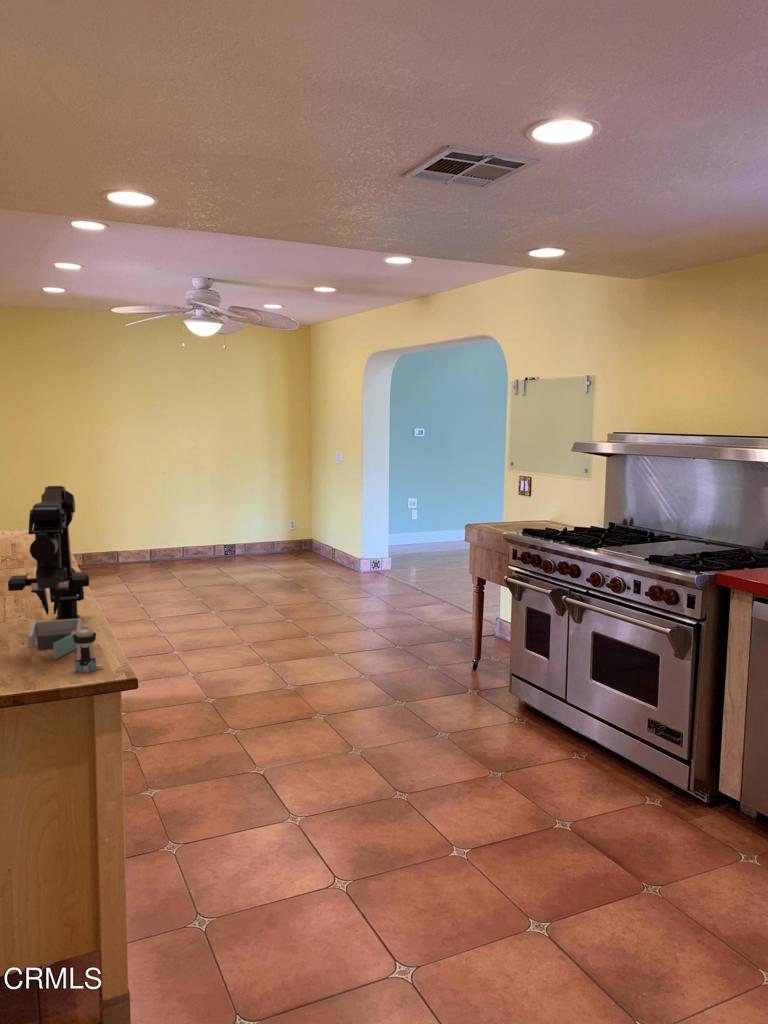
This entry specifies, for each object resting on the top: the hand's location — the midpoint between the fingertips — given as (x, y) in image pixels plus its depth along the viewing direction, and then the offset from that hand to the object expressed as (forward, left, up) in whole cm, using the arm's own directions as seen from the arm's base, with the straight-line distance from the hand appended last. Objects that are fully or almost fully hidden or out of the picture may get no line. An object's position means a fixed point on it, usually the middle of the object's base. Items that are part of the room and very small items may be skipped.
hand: (51, 614), depth 196 cm
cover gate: (-2, +4, -11) cm, 12 cm away
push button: (+15, +9, -11) cm, 21 cm away
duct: (-16, +1, -11) cm, 20 cm away
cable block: (-9, 0, -11) cm, 14 cm away
